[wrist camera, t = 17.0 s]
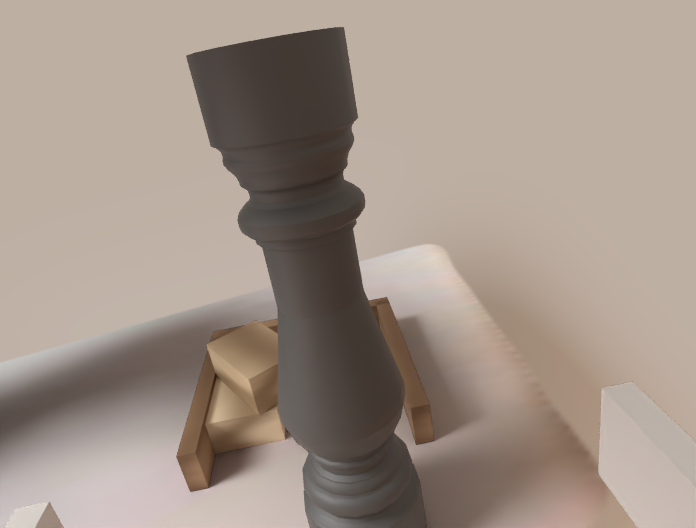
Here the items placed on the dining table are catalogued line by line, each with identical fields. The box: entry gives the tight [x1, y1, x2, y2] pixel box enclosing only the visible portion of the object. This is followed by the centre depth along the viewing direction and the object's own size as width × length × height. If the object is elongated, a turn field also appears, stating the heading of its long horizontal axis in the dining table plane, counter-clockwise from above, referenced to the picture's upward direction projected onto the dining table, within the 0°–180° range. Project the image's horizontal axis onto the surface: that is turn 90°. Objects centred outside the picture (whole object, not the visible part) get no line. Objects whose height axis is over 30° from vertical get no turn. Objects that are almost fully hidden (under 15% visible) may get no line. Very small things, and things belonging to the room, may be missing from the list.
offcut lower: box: [205, 377, 286, 454], centre depth 39 cm, size 5×8×3 cm, turn 6°
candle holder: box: [186, 27, 427, 528], centre depth 23 cm, size 6×6×25 cm
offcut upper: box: [206, 320, 278, 416], centre depth 37 cm, size 4×7×3 cm, turn 39°
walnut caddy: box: [176, 297, 434, 491], centre depth 39 cm, size 16×16×3 cm
